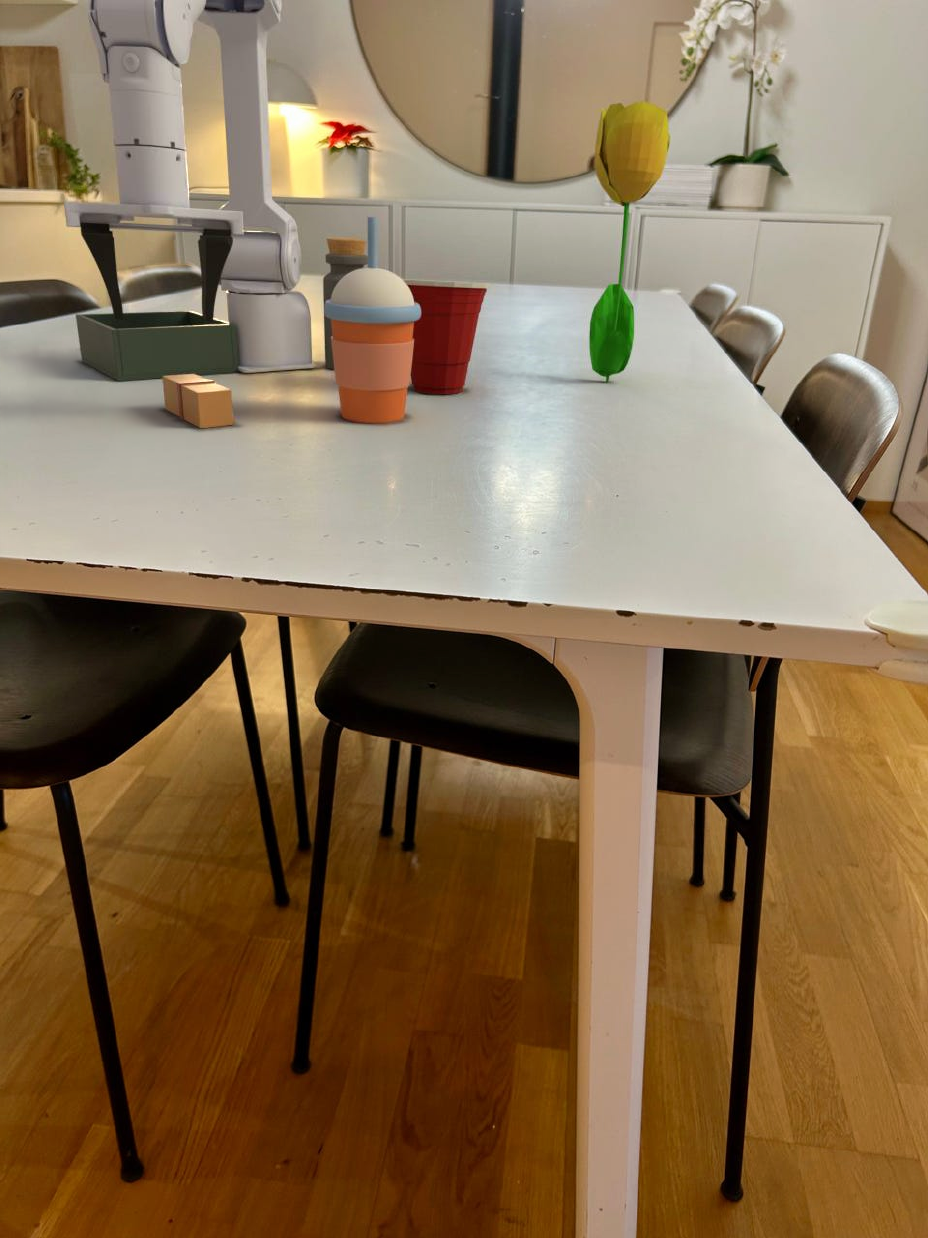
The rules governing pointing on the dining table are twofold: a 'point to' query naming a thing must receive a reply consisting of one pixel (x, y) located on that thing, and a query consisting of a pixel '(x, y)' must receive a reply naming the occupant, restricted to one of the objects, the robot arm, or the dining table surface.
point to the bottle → (340, 277)
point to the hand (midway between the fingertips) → (164, 319)
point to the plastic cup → (444, 333)
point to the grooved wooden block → (198, 400)
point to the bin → (157, 344)
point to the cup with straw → (372, 340)
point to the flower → (627, 174)
